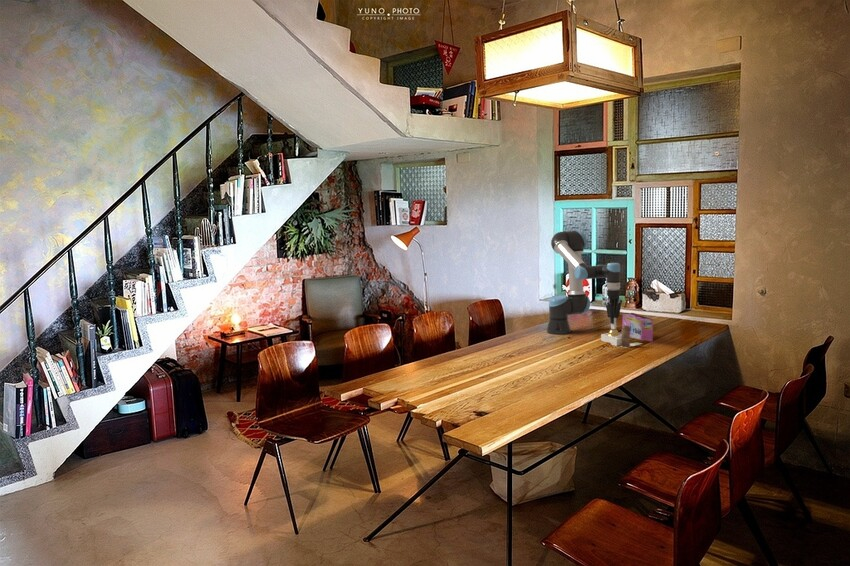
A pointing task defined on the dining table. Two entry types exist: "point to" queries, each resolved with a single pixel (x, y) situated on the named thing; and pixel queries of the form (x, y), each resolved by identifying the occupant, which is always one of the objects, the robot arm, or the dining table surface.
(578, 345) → the dining table surface
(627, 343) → the brown rounded rod
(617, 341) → the die
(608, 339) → the dome collar
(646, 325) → the gum box
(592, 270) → the robot arm
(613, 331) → the dome
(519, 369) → the dining table surface
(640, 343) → the board
